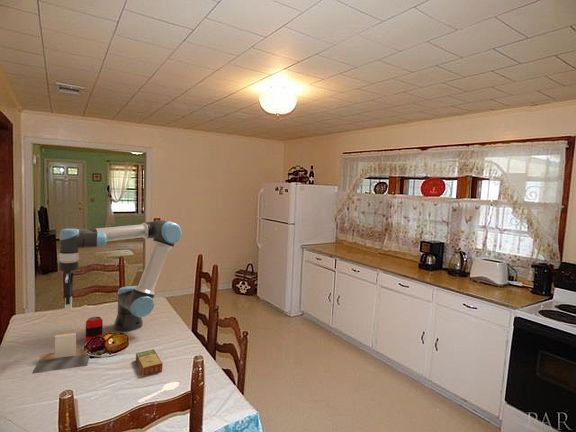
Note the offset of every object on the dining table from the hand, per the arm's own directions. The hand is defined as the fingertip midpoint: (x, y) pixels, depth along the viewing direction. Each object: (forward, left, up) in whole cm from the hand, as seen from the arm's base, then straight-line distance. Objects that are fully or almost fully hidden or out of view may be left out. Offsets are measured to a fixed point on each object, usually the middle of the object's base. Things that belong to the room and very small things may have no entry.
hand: (68, 310), depth 162 cm
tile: (0, +7, -19) cm, 21 cm away
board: (0, +11, -20) cm, 23 cm away
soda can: (-10, -9, -21) cm, 25 cm away
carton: (-35, +26, -21) cm, 48 cm away
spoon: (-38, +49, -21) cm, 66 cm away
